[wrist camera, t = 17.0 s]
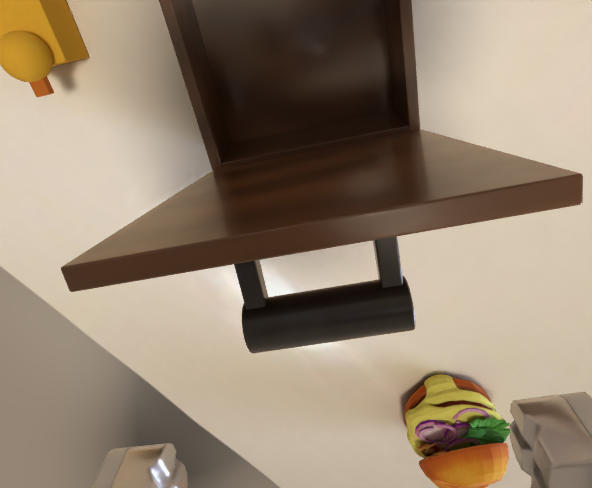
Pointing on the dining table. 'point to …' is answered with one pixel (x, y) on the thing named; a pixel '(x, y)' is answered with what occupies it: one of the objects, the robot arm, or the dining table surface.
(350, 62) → the chest
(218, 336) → the dining table surface
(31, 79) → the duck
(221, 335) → the dining table surface
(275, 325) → the lid
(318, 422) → the dining table surface
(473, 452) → the cheeseburger
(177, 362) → the dining table surface
